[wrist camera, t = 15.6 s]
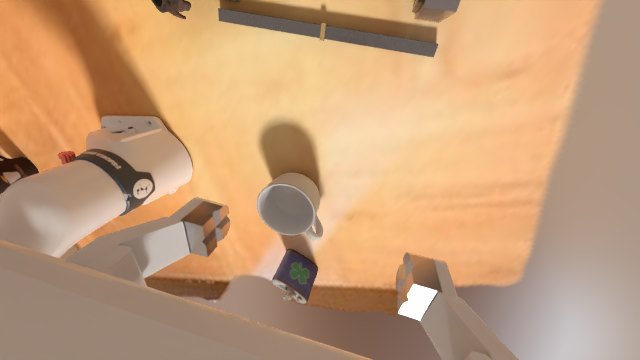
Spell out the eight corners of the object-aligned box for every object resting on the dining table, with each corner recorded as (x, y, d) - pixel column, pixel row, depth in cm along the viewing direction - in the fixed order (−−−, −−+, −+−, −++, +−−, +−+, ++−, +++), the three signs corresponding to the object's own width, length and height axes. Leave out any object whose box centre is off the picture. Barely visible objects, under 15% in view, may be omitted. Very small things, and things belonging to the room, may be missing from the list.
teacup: (265, 178, 48) (244, 198, 41) (306, 156, 43) (290, 175, 36) (301, 227, 52) (288, 254, 45) (343, 212, 47) (335, 239, 40)
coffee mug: (45, 184, 70) (-3, 202, 61) (20, 170, 70) (-31, 187, 61) (36, 154, 64) (-18, 169, 55) (8, 139, 63) (-50, 152, 55)
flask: (285, 252, 57) (265, 290, 48) (290, 246, 55) (272, 284, 46) (314, 272, 58) (301, 313, 49) (321, 267, 56) (308, 308, 47)
